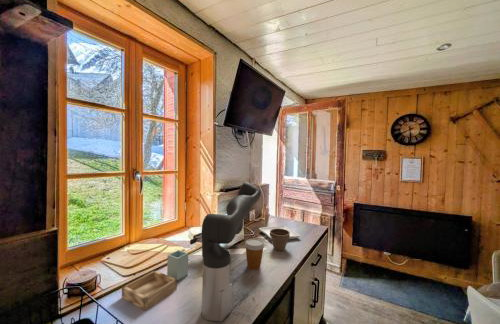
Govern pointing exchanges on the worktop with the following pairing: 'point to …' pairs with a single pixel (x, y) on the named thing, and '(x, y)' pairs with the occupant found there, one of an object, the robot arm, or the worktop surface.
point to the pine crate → (149, 289)
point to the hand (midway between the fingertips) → (197, 244)
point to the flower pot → (279, 238)
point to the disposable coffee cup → (254, 253)
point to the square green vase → (177, 265)
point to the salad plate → (267, 229)
